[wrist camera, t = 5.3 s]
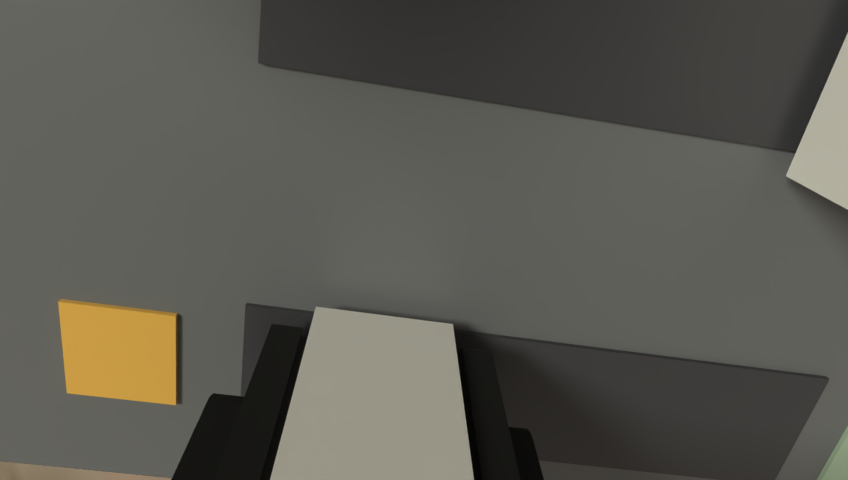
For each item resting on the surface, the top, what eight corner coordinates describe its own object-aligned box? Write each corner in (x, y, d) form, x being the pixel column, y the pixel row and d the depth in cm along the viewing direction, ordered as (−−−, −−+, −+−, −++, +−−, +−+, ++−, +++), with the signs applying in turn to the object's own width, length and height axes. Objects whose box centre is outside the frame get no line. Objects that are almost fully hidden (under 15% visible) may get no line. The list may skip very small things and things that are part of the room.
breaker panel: (-30, -307, 9) (-217, -425, 7) (1180, -50, 11) (1433, -57, 9) (44, 366, 15) (-42, 461, 12) (867, 459, 17) (960, 559, 14)
